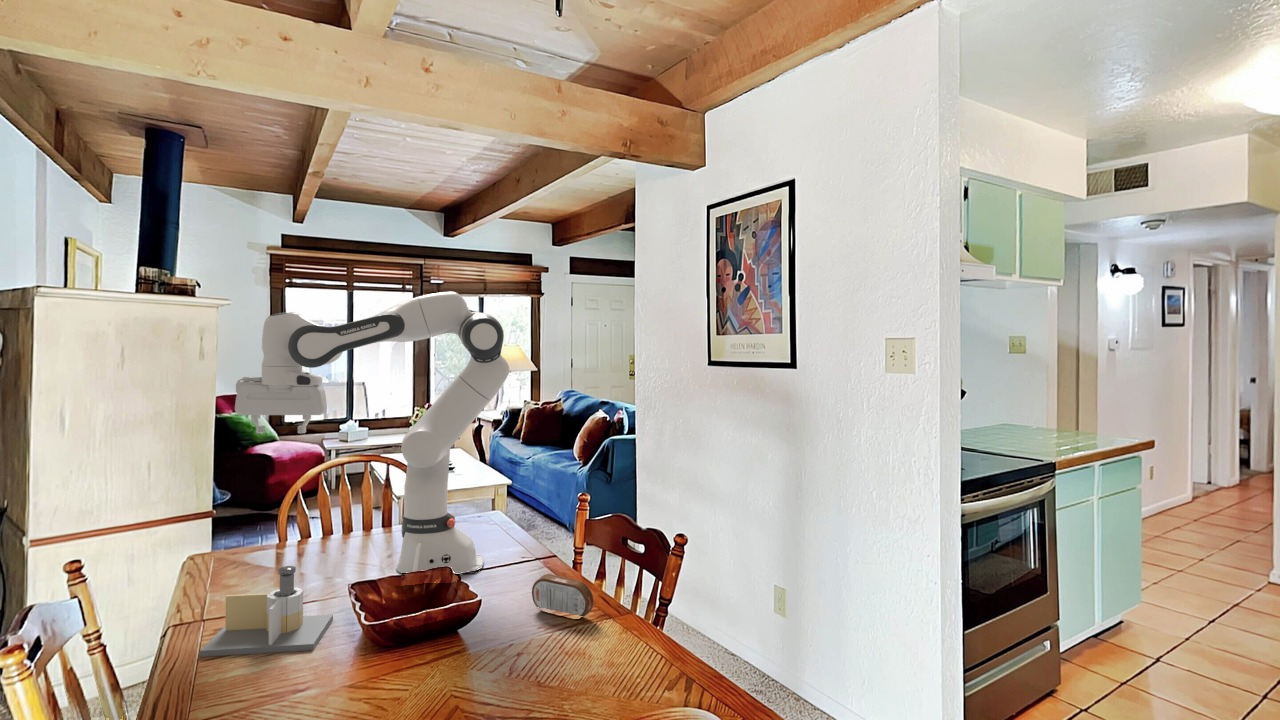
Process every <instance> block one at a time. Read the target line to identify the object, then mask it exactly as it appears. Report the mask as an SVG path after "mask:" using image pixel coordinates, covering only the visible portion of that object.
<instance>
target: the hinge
mask: <svg viewBox="0 0 1280 720" xmlns="http://www.w3.org/2000/svg"><path fill="white" fill-rule="evenodd" d="M333 620H334V614H322V615H321V614H318V615H316V614H315V615H304V590H303V589H302V588H300V587H297V586H296V587H295V586H294V595H291V596H287V597H280V588H278V589H274V590H272V591H270V592H268V593H249V594H247V593H246V594H226V596H225V625H224V626H223V627H222V628H221V629H220V630H219V631H218V632H217V633H216V634H215V635H214V636H213V637H212V638H211V639H210V640H209V641H208V642H207V643H206V644H205V645H204V646H203V647H202V648H201V649H200V650H199V658H204V657H205V658H207V657H223V656H225V657H226V656H237V655H240V656H241V655H253V654H255V655H256V654H270V653H272V654H273V653H286V652H287V653H288V652H303V651H314V649H315V648H316V647H317V645H318V643H319V642H320V640H321V639H322V638H323V636H324V634H325V633H326V631H327V630H328V628H329V626H330V625H331V624H332V622H333Z"/></svg>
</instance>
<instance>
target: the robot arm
mask: <svg viewBox="0 0 1280 720" xmlns="http://www.w3.org/2000/svg"><path fill="white" fill-rule="evenodd" d="M445 334H454V335H457V336H458V338H459V339H460V342H461V344H462V345H463V347H464V348H465V349H466V350H467V351H468V353H469V354H470V359H469V361H468V363H467V365H466V366H465V367H464V368H463V369H462V370H461V371H460V373H459V374H458V375H457V376H456V377H455V378H454V380H453V381H452V382H451V383H450V384H449V385H448V386H447V388H446V389H445V390H444V391H443V392H442V393H441V395H439V396H438V398H437V399H436V400H435V401H434V402H433V403H432V404H431V406H430V407H429V408H428V409H427V410H426V411H425V412H424V413H423V414H422V416H421V417H420V418H419V419H418V420H417V421H416V422H415V423H414V424H413V425H412V427H411V428H410V429H409V430H408V432H407V433H406V434H405V435H404V437H403V439H402V442H401V453H402V457H403V459H404V460H405V461H406V463H407V465H406V475H405V481H404V488H403V489H404V494H403V495H404V497H403V498H404V499H403V500H404V501H403V515H402V519H401V537H402V543H401V549H400V555H399V559H398V562H397V566H396V571H397V572H398V573H401V574H402V573H406V572H413V571H421V570H427V569H431V568H436V567H444V566H450V567H452V569H453V571H454V572H455V573H461V572H467V571H475V570H477V569H478V568H480V567H481V566H482V564H483V560H484V557H483V555H481V554H480V553H477V552H476V547H475V543H474V540H473V539H472V538H471V537H470V536H469V535H467V534H466V533H464V532H463V531H461V530H460V529H458V528H457V527H456V526H455V525H456V519H455V518H456V517H455V513H452V514H451V513H449V512H448V488H449V487H448V485H449V484H448V483H449V473H450V472H449V471H450V469H449V468H450V455H451V452H450V450H451V448H452V447H453V446H454V445H455V443H456V442H457V441H458V440H459V439H460V438H461V436H462V435H463V434H464V433H465V431H467V429H468V428H469V427H470V425H471V424H472V423H473V422H474V421H475V420H476V418H477V417H478V416H479V415H480V414H481V413H482V412H483V410H485V408H486V407H487V406H488V404H489V403H490V402H491V401H492V399H494V398H495V396H496V395H497V394H498V392H499V391H500V389H501V388H502V386H503V385H504V383H505V381H506V380H507V379H508V376H509V375H510V374H509V373H510V366H509V363H508V362H507V360H506V359H505V357H503V356H502V355H501V354H502V349H503V344H504V339H505V337H504V336H505V334H504V329H503V327H502V324H501V322H499V320H498V319H497V318H496V317H495V316H493V315H491V314H489V313H486V312H480V311H476V310H471V309H469V308H468V305H467V302H466V300H465V299H464V298H463V297H462V296H461V294H460V293H459V292H455V291H442V292H436V293H435V292H434V293H429V294H425V295H420V296H416V297H413V298H410V299H407V300H404V301H401V302H400V303H397V304H395V305H393V306H391V307H389V308H387V309H385V310H383V311H381V312H379V313H377V314H374V315H372V316H370V317H367V318H362V319H359V320H358V319H357V320H355V321H351V322H347V323H343V324H339V325H334V326H323V325H321V324H317V323H316V322H313V321H311V320H309V319H307V318H305V317H303V316H302V315H301V314H300V313H299V312H294V311H293V312H292V311H290V312H289V311H288V312H279V313H273V314H271V315H269V316H267V318H265V319H264V323H263V326H262V335H261V336H262V338H261V350H262V353H263V357H262V363H261V376H259V377H258V376H255V377H254V376H253V377H249V376H248V377H247V376H244V377H242V378H240V379H238V380H237V381H236V383H235V391H236V392H235V393H236V396H235V404H234V412H235V413H236V414H237V415H238V416H250V420H251V422H252V423H253V425H254V427H255V433H256V434H264V433H266V425H262V423H261V421H260V420H259V419H261V416H302V420H304V421H303V423H302V424H301V425H298V426H297V433H298V434H305V433H307V426H308V424H309V423H310V422H311V420H312V416H321V415H323V414H325V413H326V412H327V409H328V406H327V395H326V391H325V388H324V386H322V383H323V377H322V376H321V375H318V374H316V373H315V374H314V373H311V372H307V371H305V370H303V367H304V368H313V369H314V368H318V367H319V368H320V367H322V366H324V365H330V364H331V363H334V362H336V360H338V359H339V358H340V357H341V356H342V354H343V352H345V351H349V350H353V349H357V348H360V347H364V346H368V345H372V344H376V343H382V342H393V343H394V342H395V343H396V342H398V343H399V342H400V343H407V342H409V343H410V342H416V341H422V340H427V339H430V338H433V337H436V336H440V335H445ZM477 556H481V557H477ZM476 566H478V567H476Z"/></svg>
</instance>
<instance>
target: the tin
mask: <svg viewBox="0 0 1280 720" xmlns="http://www.w3.org/2000/svg"><path fill="white" fill-rule="evenodd" d="M531 588H532V589H531V596H532V601H533V603H534V605H535V607H536V608H537V607H539V608H546V609H550V610H555V611H560V612H566V613H569V614H575V615H579V616H584V617H585V616H587V615H588V614H590V613H591V611H592V609H593V607H594V595H593V593H592V590H591V589H590V587H589V586H588V585H587V584H586V583H584V582H583V581H582V580H579V579H574V578H568V577H565V576H564V577H563V576H559V575H556V574H551V573H547V574H543V575H542V576H540V577H539V578H538V579H537V580H535V582H534V583H533V585H532V587H531ZM589 612H590V613H589Z"/></svg>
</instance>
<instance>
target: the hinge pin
mask: <svg viewBox="0 0 1280 720" xmlns="http://www.w3.org/2000/svg"><path fill="white" fill-rule="evenodd" d="M296 571H297V567H296V566H294V565H287V566H281V567H279V568H278V569H277V573H278V575H279V589H280V597H287V596H291V595H294V587H295V573H296Z"/></svg>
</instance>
